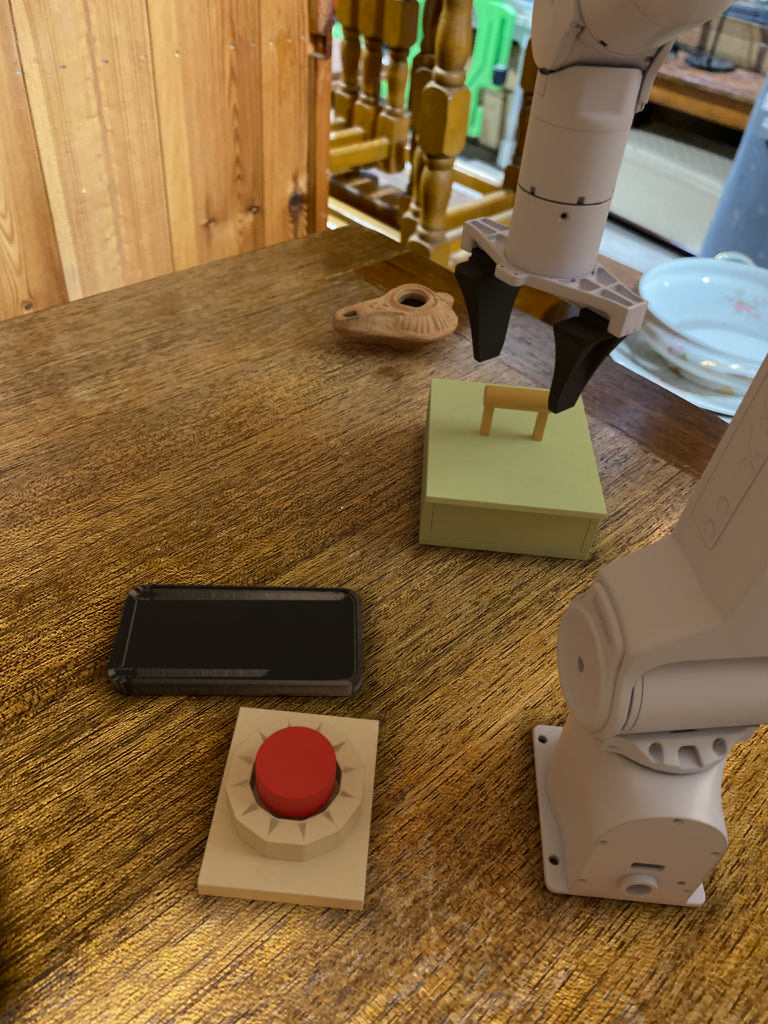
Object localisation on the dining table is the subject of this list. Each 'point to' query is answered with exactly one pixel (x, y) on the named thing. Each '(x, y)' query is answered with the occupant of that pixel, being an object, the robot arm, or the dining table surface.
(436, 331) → the pottery oil lamp
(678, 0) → the robot arm
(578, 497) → the compartment door
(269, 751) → the release button
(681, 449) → the dining table surface
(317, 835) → the block
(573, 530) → the compartment
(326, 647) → the phone
